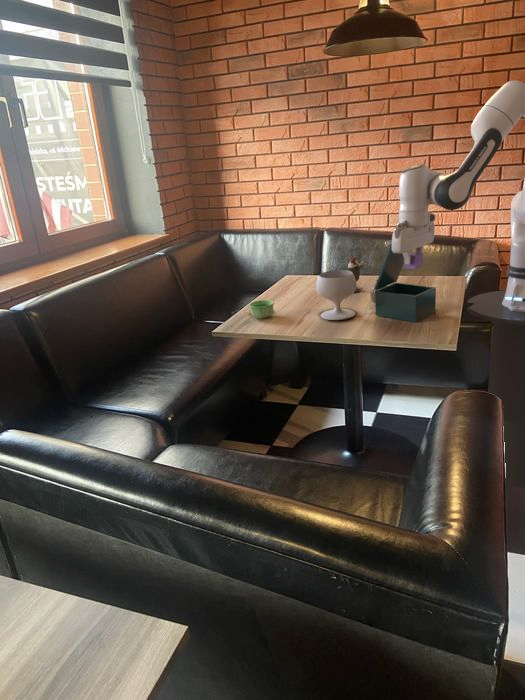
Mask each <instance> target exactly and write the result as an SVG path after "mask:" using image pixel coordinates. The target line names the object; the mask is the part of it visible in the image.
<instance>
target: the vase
mask: <svg viewBox="0 0 525 700" xmlns="http://www.w3.org/2000/svg"><path fill="white" fill-rule="evenodd" d="M377 280H378V278H377V279H376V280H375V282H374V283H373V284H372V286H371V288H370V293H369V296H370V300H371V301H372V303H374V305H376V302H375V291H376V290H375V286H376V283H377ZM385 287H386V286H385ZM382 288H384V287H382ZM380 289H381V288H380ZM378 290H379V289H378Z"/></svg>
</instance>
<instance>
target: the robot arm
mask: <svg viewBox="0 0 525 700" xmlns="http://www.w3.org/2000/svg"><path fill="white" fill-rule="evenodd" d="M521 118H522V119H525V82H522V81H520V80H518V79H517V80H516V79H515V80H514V79H513V80H509V81H507V82H506V83H504V84H503V85H502V86H501V87H500V88H499V89H498V90H496V92H495V93H493V94H492V95H491V97H490V98H489V99H488V100H487V101H486V103H485V104H484V105H483V106H482V107H481V109H480V110H479V112H478V113H477V114H476V115H475V118H474V119H473V121H472V123H471V125H470V134H471V138H472V140H473V141H474V143H473V147H472V149H470V152H469V153H468V155H466V157H465V159H464V160H463V162H461V165H460V166H459V167H458V168H457V170H456V171H454V172H452V173H450V174H448V173H443V172H440V171H437V170H434V169H432V168H430V167H429V166H427V165H426V164H415V165H411V166H408V167H405V168H404V169H403V170H402V171H401V173H400V176H399V182H398V183H399V184H398V199H399V208H398V223H397V224H396V226H395V227H394V230H393V233H392V237H391V240H392V251H393V253H398V254H402V253H403V256H404V258H405V264H411V263H412V258H410V253H411V252H412V251H413V250H415V253H423V252H424V246H427V245H430V244H432V243H433V242H434V241H435V240H434V239H435V229H436V228H435V225H436V224H435V221H436V217H437V216H436V214H435V213H432V212H430V211H429V206H431V205H433V206H437V207H441V208H443V209H445V210H447V211H456V210H459V209H461V208H462V207H464V206H465V205H466V204H467V203H468V201H469V200H470V198H471V196H472V193H473V189H474V187H475V185H476V183H477V181H478V180H479V178H480V177H481V175H482V174H483V173H484V171H485V169H486V168H487V166H488V165H489V163H490V162H491V161H492V159H493V158H494V157H495V155H496V153H497V151H499V148H500V146H501V144H502V143H503V141H505V139H506V137H507V136H508V135H509V134H510V132H511V131H512V130H513V128H514V127H515V126H516V125H517V123H518V122H519V121H520V119H521ZM523 180H524V181H523V187H522V190H520V191H518V192H517V193H516V194H515V195H514V196H513V197H512V199H511V203H510V237H511V241H510V257H509V258H510V259H509V264H508V265H507V266H508V267H507V273H506V274H507V284H506V289H505V290H506V293H505V296H504V299H503V302H502V305H503V306H505V307H507V308H509V309H510V310H511V311H517V312H525V178H524V179H523Z"/></svg>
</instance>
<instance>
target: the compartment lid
mask: <svg viewBox="0 0 525 700" xmlns="http://www.w3.org/2000/svg"><path fill="white" fill-rule="evenodd" d="M384 246H385V247H386V248H388V250H387V252H386V254H385V258H384V261H383V264H382V266H381V269H380V272H379V275H378V277H377V279H378V280H377V279H376V280H377V283H376V286H375V290H378V289H380V288H382V287H385V286H389V285H391V284H393V283H398V279H399V277H400V274H401V271H402V268H403V267H404V256H403V253H402V254H398V253H393V251H392V239H391V240H387V241H385V242H384Z"/></svg>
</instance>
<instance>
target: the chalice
mask: <svg viewBox="0 0 525 700" xmlns="http://www.w3.org/2000/svg"><path fill="white" fill-rule="evenodd" d="M356 288H358V285H357V282H356V279H355V276H354V274H353V273H352V272H351V271H348V270H347V269H346V270H344V269H336V270H335V269H334V270H328V271H324V272H320V273H319V274H318V276H317V279H316V283H315V290H316V292H317V294H318V295H319V296H320V297H322V298H324V299H326V300H328V301H330V302H332V303H333V305H334V309H330V310H326V311H324V312H322V313H321V314H320V318H322V319H323V320H330V321H340V320H347V319H350V318H353V317H354V316H356V312H355V310H352V309H348V308H347V309H346V308H341V303H342V302H343V301H344V300H345V299H347V298H348V297H350V296H352V295H353V294H354V293H356V292H355V290H356Z"/></svg>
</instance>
